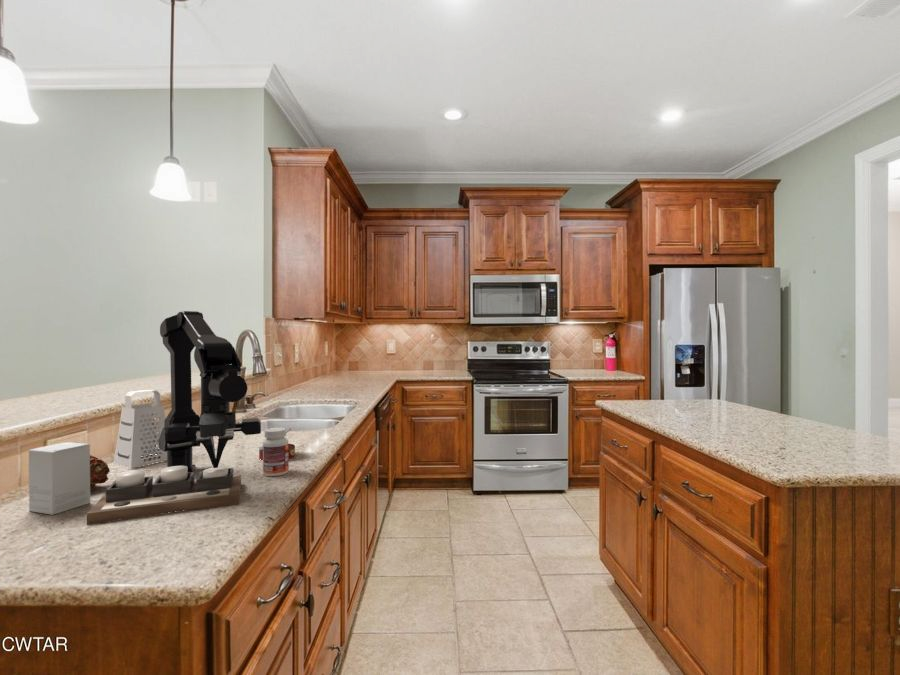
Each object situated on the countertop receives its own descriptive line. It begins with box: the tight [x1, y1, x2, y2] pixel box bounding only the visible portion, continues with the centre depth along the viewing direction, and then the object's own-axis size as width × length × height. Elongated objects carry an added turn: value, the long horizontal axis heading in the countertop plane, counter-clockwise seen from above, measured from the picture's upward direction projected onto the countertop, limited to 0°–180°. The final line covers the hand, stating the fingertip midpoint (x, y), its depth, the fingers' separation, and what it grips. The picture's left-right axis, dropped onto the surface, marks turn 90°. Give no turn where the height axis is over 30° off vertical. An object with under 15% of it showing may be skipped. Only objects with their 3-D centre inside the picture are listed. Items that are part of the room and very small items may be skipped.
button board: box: [86, 467, 242, 525], centre depth 97 cm, size 14×26×4 cm, turn 113°
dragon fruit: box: [90, 454, 111, 491], centre depth 105 cm, size 8×8×12 cm
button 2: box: [202, 466, 228, 479], centre depth 102 cm, size 5×5×2 cm
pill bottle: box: [262, 427, 289, 477], centre depth 117 cm, size 6×6×11 cm
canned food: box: [258, 428, 296, 461], centre depth 133 cm, size 11×10×10 cm
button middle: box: [160, 466, 188, 483], centre depth 99 cm, size 5×5×2 cm
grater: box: [113, 389, 169, 469], centre depth 129 cm, size 10×10×20 cm
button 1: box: [115, 469, 146, 488], centre depth 96 cm, size 5×5×2 cm
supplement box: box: [28, 441, 91, 516], centre depth 95 cm, size 7×7×13 cm
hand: (215, 467), depth 102 cm, fingers closed
